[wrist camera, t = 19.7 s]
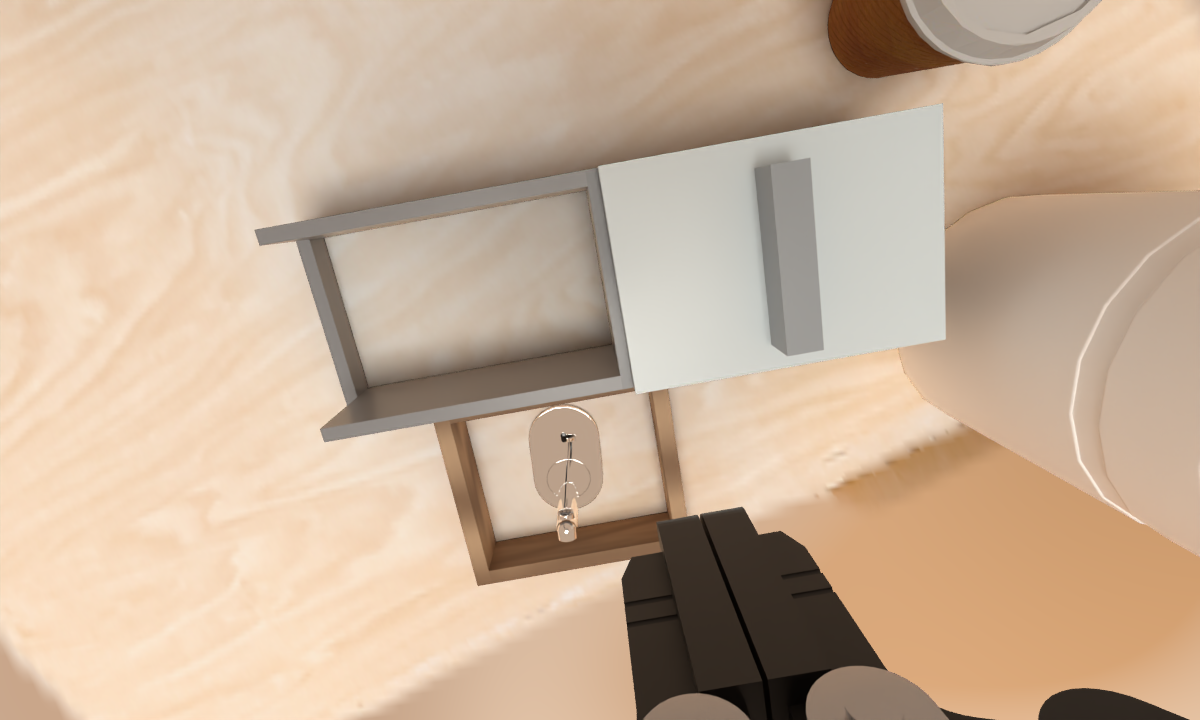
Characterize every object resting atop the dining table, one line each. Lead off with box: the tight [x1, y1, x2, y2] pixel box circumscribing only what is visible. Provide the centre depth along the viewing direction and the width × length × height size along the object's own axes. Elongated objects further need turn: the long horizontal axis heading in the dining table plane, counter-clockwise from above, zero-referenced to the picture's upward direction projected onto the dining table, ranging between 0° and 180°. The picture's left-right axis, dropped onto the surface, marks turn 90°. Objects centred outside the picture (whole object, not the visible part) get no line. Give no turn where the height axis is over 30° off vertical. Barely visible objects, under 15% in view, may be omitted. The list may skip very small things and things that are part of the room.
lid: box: [598, 103, 946, 394], centre depth 28 cm, size 12×17×3 cm
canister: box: [898, 190, 1200, 557], centre depth 29 cm, size 16×16×20 cm
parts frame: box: [434, 387, 687, 586], centre depth 39 cm, size 13×15×4 cm
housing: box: [255, 168, 634, 442], centre depth 34 cm, size 12×35×8 cm, turn 100°
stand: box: [529, 405, 603, 542], centre depth 37 cm, size 8×5×8 cm
